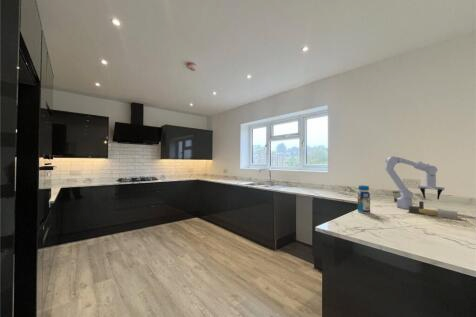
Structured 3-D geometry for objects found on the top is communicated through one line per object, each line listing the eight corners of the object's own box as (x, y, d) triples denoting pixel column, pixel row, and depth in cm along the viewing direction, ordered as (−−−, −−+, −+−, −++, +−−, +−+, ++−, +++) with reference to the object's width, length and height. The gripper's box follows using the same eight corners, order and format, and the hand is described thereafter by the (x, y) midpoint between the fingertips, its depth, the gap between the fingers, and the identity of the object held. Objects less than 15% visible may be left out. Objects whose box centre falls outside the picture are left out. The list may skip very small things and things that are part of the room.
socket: (409, 212, 148) (409, 206, 148) (410, 211, 153) (410, 205, 153) (418, 213, 145) (418, 207, 145) (419, 212, 149) (419, 206, 149)
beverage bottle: (358, 210, 160) (358, 185, 160) (371, 211, 155) (370, 185, 155) (356, 212, 153) (356, 186, 154) (369, 214, 148) (369, 186, 148)
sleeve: (437, 216, 138) (437, 210, 138) (438, 215, 141) (438, 209, 141) (457, 219, 131) (457, 212, 131) (457, 218, 134) (457, 211, 134)
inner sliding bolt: (412, 211, 148) (412, 201, 148) (413, 210, 150) (413, 200, 150) (444, 215, 136) (443, 204, 136) (444, 215, 138) (444, 203, 138)
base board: (406, 214, 147) (406, 212, 147) (409, 211, 155) (409, 210, 155) (460, 222, 128) (460, 220, 128) (460, 218, 136) (460, 217, 136)
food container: (407, 201, 192) (407, 191, 193) (409, 203, 187) (409, 192, 187) (391, 200, 199) (391, 190, 199) (392, 201, 193) (392, 191, 194)
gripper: (417, 180, 159) (417, 197, 159) (443, 182, 148) (444, 200, 148) (418, 180, 164) (419, 196, 163) (444, 181, 153) (444, 199, 153)
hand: (431, 198), depth 156 cm, fingers open, 7 cm apart
